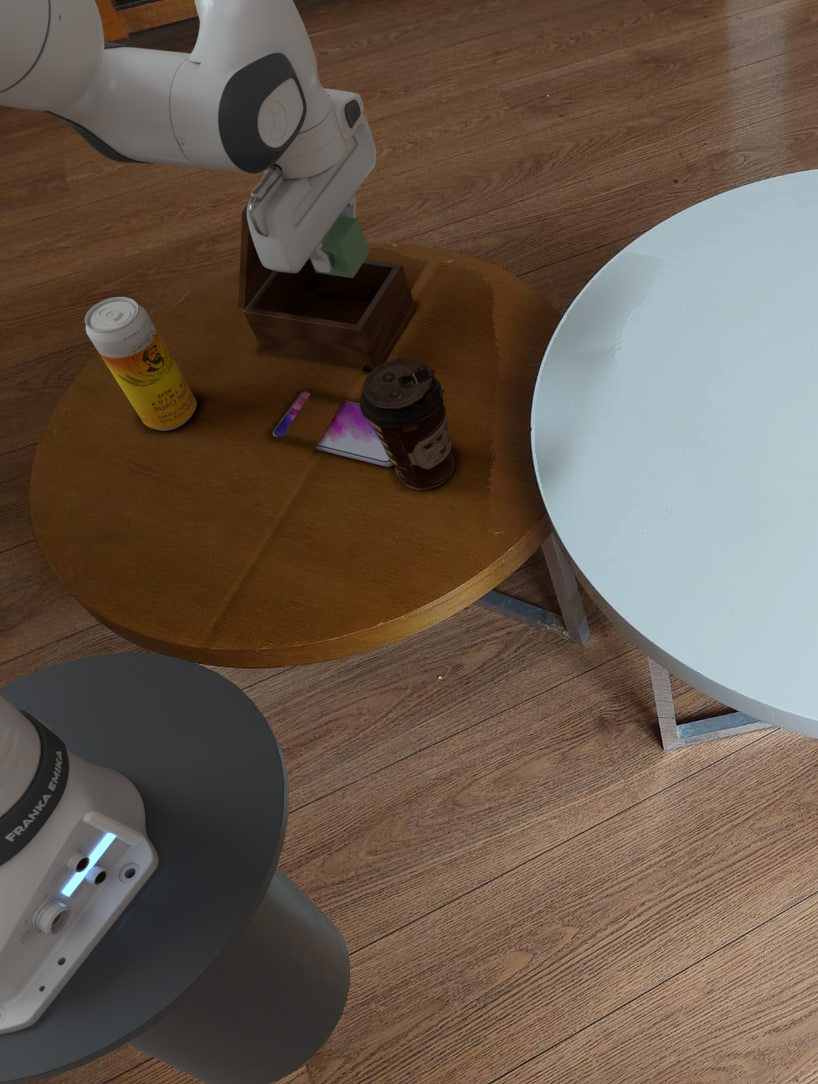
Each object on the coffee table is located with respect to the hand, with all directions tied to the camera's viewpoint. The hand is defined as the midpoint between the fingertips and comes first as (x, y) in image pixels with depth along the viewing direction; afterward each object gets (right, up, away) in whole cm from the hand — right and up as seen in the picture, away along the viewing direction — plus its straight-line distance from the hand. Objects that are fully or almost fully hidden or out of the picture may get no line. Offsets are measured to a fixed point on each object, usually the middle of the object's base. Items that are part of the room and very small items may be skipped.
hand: (338, 250), depth 120 cm
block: (0, -1, +1) cm, 2 cm away
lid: (-8, +3, +2) cm, 9 cm away
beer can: (-21, -17, +5) cm, 28 cm away
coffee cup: (+10, -24, 0) cm, 26 cm away
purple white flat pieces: (0, -20, +3) cm, 20 cm away
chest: (-4, -6, +13) cm, 15 cm away
